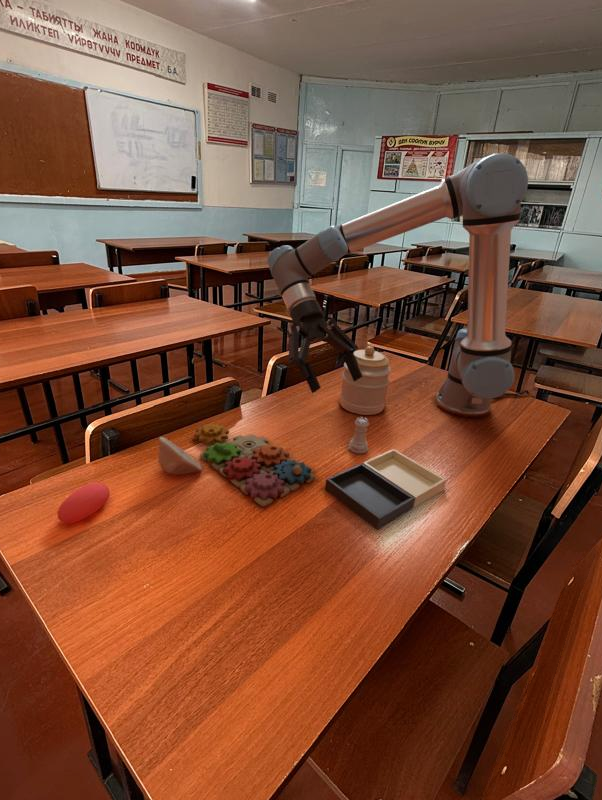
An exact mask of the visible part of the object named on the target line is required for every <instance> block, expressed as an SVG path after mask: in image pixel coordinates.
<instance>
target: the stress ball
mask: <svg viewBox="0 0 602 800" xmlns="http://www.w3.org/2000/svg"><path fill="white" fill-rule="evenodd" d="M110 495H111V494H110V488H109V487H108V485H106V484H105V483H104V482H101V481H92V482H89V483H87V484H86V483H85V485H83V486H81V487H79V488H78V489H75V491H73V492H72V493H70V494H69V495H68V496H67V497H66V498H65V499H64V501H62V503H61V504H60V506H59V507H58V509H57V513H56V514H57V518H58V520H59V521H60V522H61V523H63V524H73V523H76V522H79V521H82V520H84V519H86V518H88V517H89V516H91V515H92V514H94V513H95V512H96V511H97V510H99V509H101V508H102V507H103V506H104V505H105V504H106V503H107V501H108V500H109V497H110Z"/></svg>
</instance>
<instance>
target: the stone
mask: <svg viewBox="0 0 602 800" xmlns="http://www.w3.org/2000/svg"><path fill="white" fill-rule="evenodd" d="M158 449H159V450H158V464H159V467H160V468H161V469H162V470H164V471H165V472H166V473H168V474H170V475H179V476H180V475H185V474H186V475H187V474H191V473H195V472H202V471H203V467H202V466H201V465H200V464H199V463H197V461H196V460H195V459H194V458H193V457H192V455H190V454H189V453H188V452H186V451H185V450H184V449H182V448H181V447H179V446H178V445H176V444H175V443H173V442H172V441H171V440H169V439H168V438H166V437H164V436H160V437H159V438H158Z"/></svg>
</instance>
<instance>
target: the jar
mask: <svg viewBox="0 0 602 800" xmlns="http://www.w3.org/2000/svg"><path fill="white" fill-rule="evenodd" d="M354 355H355V358H356V360H357V362H358V367H359V369H360V371H361V374H362V376H363V377H361V378H360V379H358V380H357V381H354V380H353V378H352V376H351V374H350V371H349V369H348V367H347V365H346V363H345V362H343V368H344V372H343V373H342V381H341V391H340V394H339V403H340V406H341V407H342V408H343V409H344V410H346V411H348V412H350V413H353V414H357V415H361V416H372V415H379V414H381V412H383V411H384V409H385V407H386V402H387V393H388V387H389V384H390V378H389V375H390V374H391V373H392V368H391V367H390V365H389V364H390V359H389V358H388V357H386V356H385V355H384V354H383V353H382V352H380V351H376V350H375V348H374V347H373V346H370V345H369V346H368V345H367V346H366V347H365V348H364V349H356V350H355V351H354Z"/></svg>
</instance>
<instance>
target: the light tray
mask: <svg viewBox="0 0 602 800" xmlns="http://www.w3.org/2000/svg"><path fill="white" fill-rule="evenodd" d="M362 464H364V465H365V466H367V467H368V468H370V469H371V470H373V471H374V472H376V473H377V474H379V475H380V476H382V477H383V478H385V479H386V480H388V481H390V482H391V483H393V484H394V485H396V486H397V487H399V488H400V489H402V490H403V491H405V492H406V493H408V494H409V495H411V496H412V497H414V498H415V500H414V504H413V508H412V509H414V508H416V507H417V506H419V505H421V504H422V503H424V502H426V501H427V500H429V499H431V498H433V497H434V496H436V495H438V494H439V493H441V492H443V491H444V490H445V488H446V483H447V479H446V478H444V477H443V476H441V475H439V474H438V473H436V472H434V471H432V470H431V469H429V468H428V467H425V466H424V465H422V464H421V463H419V462H417V461H415V460H413V458H410V457H409V456H407V455H405V454H403V453H402V452H400V451H398V450H397V449H395V448H392V449H390V450H388V451H385V452H383V453H380V454H378V455H377V456H374V457H372V458H370V459H368V460H365V461H362Z"/></svg>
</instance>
